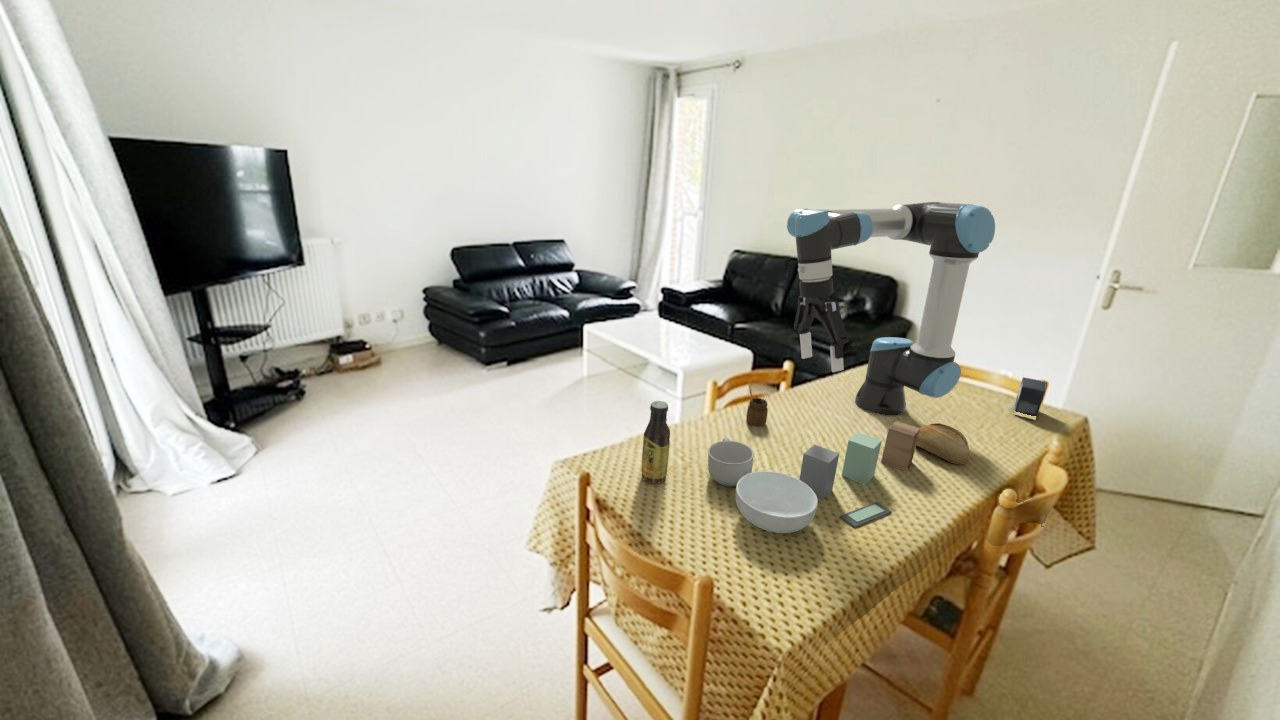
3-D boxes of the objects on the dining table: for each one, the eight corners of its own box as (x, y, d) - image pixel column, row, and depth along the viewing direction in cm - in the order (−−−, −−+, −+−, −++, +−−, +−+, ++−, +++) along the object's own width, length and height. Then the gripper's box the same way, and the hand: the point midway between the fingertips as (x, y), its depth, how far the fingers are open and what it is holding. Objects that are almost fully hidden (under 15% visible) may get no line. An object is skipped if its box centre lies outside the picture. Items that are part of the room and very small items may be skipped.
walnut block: (888, 453, 142) (895, 420, 138) (911, 462, 138) (920, 428, 135) (881, 462, 137) (888, 428, 134) (905, 470, 134) (913, 436, 130)
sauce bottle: (636, 473, 128) (640, 399, 121) (660, 469, 130) (664, 396, 123) (647, 488, 122) (651, 411, 115) (671, 482, 124) (676, 407, 118)
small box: (1013, 404, 177) (1022, 376, 173) (1036, 410, 173) (1046, 381, 170) (1012, 415, 169) (1021, 385, 165) (1036, 421, 165) (1046, 390, 162)
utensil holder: (768, 427, 154) (773, 390, 150) (746, 426, 154) (751, 389, 150) (764, 418, 159) (768, 382, 155) (743, 417, 159) (747, 381, 155)
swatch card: (876, 503, 120) (876, 500, 120) (891, 512, 117) (891, 510, 116) (839, 517, 114) (840, 515, 114) (854, 528, 111) (855, 525, 111)
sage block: (850, 466, 135) (857, 432, 131) (874, 475, 131) (881, 440, 128) (841, 475, 130) (848, 440, 127) (865, 485, 127) (873, 448, 123)
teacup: (750, 495, 121) (754, 465, 118) (703, 488, 123) (706, 458, 120) (750, 464, 134) (754, 436, 131) (708, 458, 136) (710, 431, 133)
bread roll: (919, 438, 152) (926, 413, 149) (974, 460, 140) (982, 434, 138) (902, 446, 146) (908, 421, 143) (958, 471, 135) (966, 443, 132)
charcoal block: (808, 480, 128) (814, 444, 124) (832, 490, 124) (839, 453, 121) (797, 490, 123) (803, 453, 120) (822, 501, 120) (829, 463, 116)
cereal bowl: (763, 554, 102) (767, 524, 100) (718, 506, 116) (721, 479, 114) (830, 534, 109) (835, 505, 106) (780, 491, 123) (784, 465, 121)
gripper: (776, 277, 135) (783, 355, 141) (831, 287, 111) (837, 380, 117) (802, 272, 136) (808, 349, 142) (863, 280, 113) (867, 373, 118)
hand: (821, 363), depth 129 cm, fingers open, 13 cm apart
